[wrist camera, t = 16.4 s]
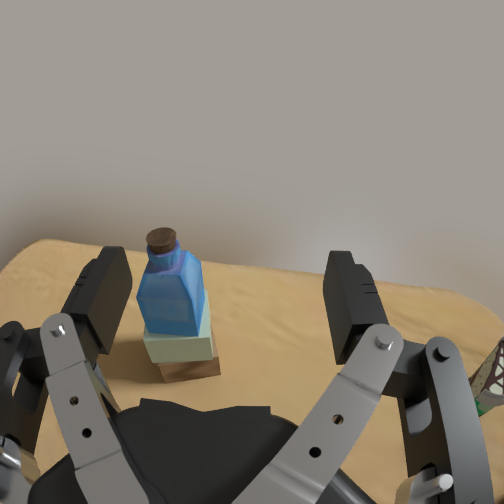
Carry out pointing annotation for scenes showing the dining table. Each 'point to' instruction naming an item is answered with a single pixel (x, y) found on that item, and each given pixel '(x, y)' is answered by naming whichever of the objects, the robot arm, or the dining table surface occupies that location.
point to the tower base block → (191, 368)
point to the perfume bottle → (171, 287)
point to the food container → (489, 381)
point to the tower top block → (181, 343)
